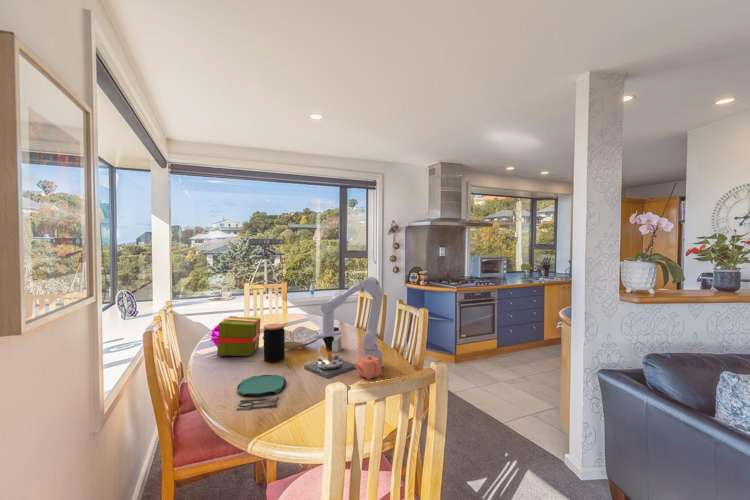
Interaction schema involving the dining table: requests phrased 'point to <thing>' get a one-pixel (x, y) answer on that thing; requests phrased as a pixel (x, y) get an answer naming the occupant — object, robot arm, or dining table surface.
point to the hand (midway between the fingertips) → (328, 351)
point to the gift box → (236, 336)
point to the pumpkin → (369, 367)
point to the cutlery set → (260, 389)
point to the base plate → (329, 372)
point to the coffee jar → (274, 342)
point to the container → (336, 342)
